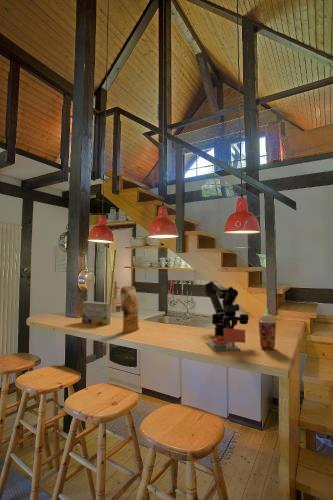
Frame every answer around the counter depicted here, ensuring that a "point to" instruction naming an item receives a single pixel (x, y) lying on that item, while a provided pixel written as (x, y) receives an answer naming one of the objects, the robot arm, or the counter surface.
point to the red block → (230, 336)
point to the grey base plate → (223, 346)
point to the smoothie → (267, 331)
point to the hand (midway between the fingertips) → (231, 333)
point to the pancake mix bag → (129, 309)
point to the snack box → (96, 313)
